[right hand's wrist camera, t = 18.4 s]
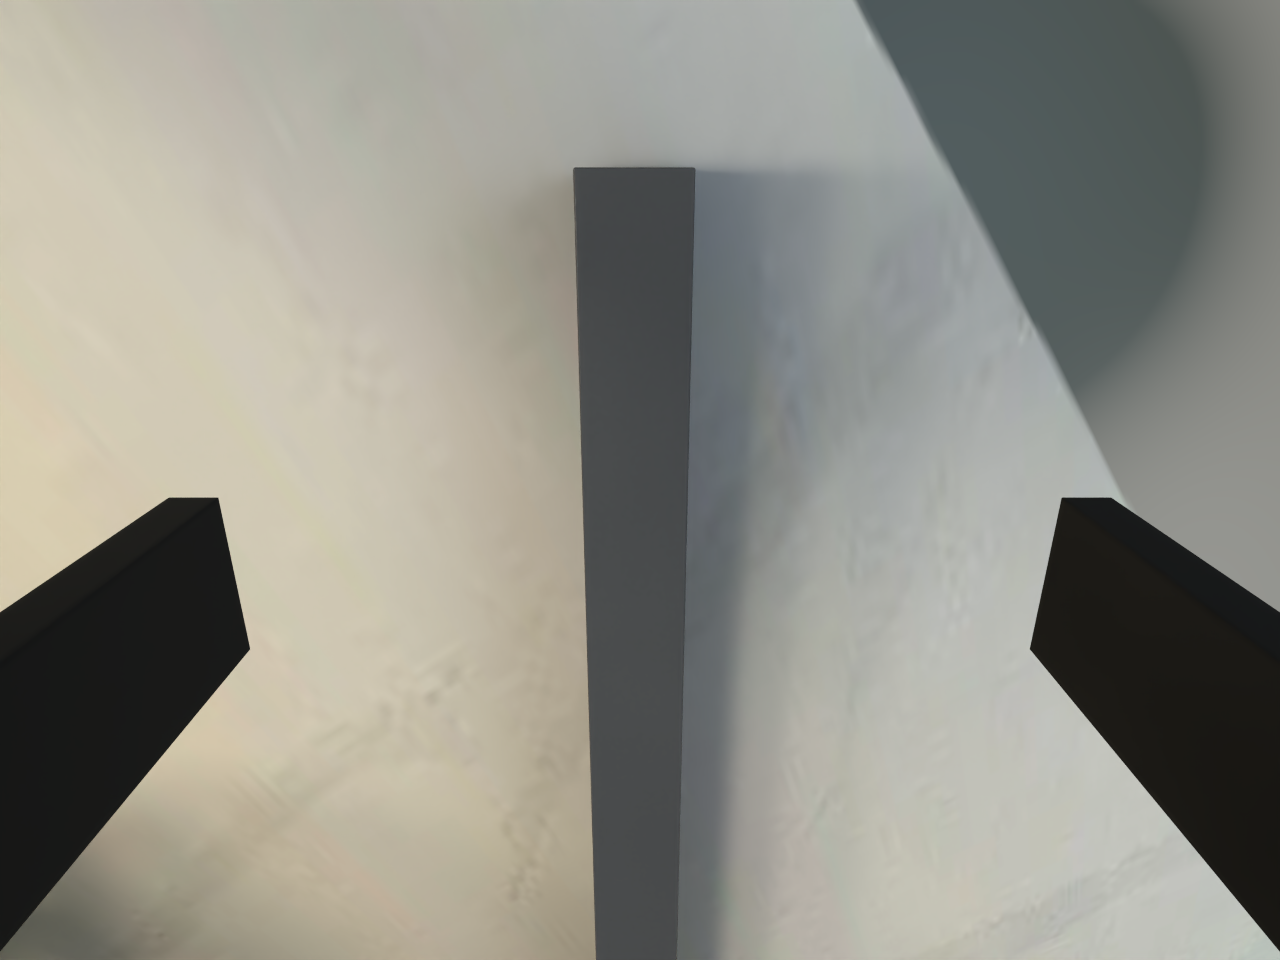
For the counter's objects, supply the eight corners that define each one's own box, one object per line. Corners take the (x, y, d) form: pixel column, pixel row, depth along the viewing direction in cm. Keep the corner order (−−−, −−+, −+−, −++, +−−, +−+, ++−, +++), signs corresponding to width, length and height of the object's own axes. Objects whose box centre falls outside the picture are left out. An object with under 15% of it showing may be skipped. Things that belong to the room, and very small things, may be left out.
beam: (586, 169, 40) (572, 167, 32) (684, 169, 40) (695, 167, 32) (609, 1172, 70) (605, 1302, 62) (665, 1172, 70) (668, 1302, 62)
